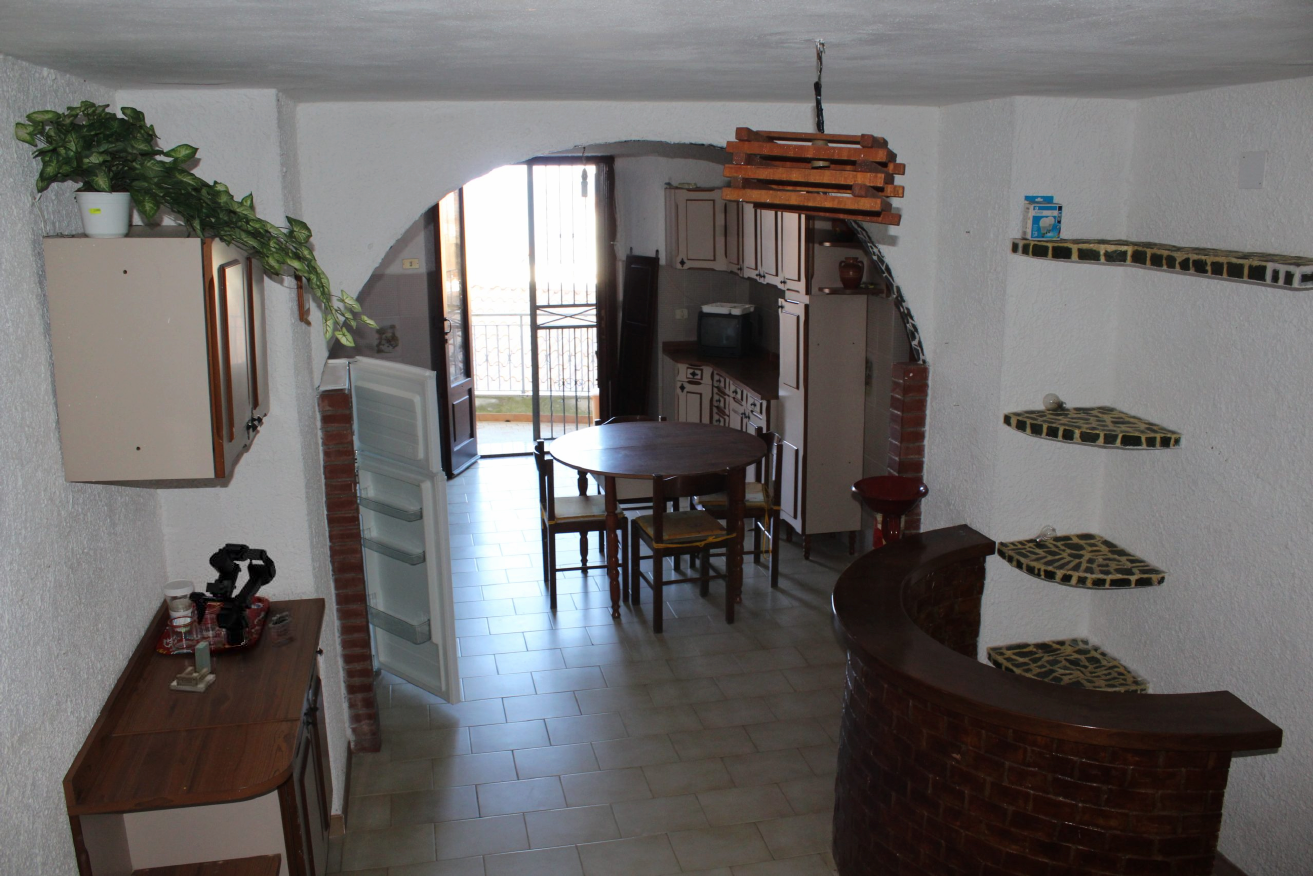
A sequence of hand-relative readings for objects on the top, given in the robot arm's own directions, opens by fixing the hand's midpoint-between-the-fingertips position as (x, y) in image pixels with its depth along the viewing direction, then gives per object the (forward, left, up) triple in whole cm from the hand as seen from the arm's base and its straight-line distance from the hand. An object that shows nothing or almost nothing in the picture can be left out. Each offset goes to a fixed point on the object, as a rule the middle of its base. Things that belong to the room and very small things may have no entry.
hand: (213, 625), depth 320 cm
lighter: (-8, +21, -13) cm, 26 cm away
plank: (+6, -4, -13) cm, 15 cm away
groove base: (+12, -7, -13) cm, 19 cm away
